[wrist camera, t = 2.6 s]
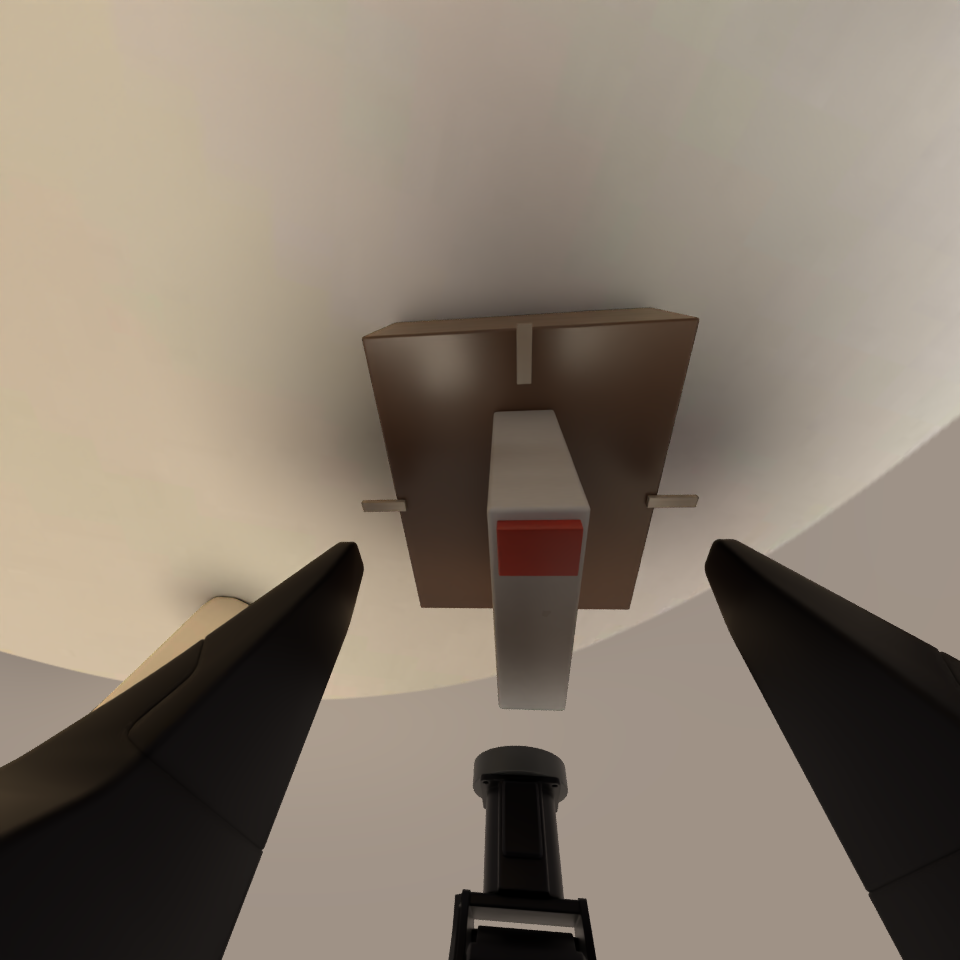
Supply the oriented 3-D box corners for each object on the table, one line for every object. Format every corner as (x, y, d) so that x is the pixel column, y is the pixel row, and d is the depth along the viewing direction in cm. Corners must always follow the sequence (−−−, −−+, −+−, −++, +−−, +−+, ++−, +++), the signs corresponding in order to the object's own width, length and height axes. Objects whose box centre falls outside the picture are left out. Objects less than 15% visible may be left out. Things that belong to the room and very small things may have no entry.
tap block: (633, 556, 15) (661, 616, 13) (411, 556, 16) (392, 613, 14) (690, 300, 10) (758, 310, 8) (359, 321, 11) (313, 336, 8)
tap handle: (545, 572, 12) (567, 723, 8) (500, 572, 12) (498, 721, 8) (554, 408, 9) (596, 517, 5) (493, 411, 9) (485, 519, 5)
